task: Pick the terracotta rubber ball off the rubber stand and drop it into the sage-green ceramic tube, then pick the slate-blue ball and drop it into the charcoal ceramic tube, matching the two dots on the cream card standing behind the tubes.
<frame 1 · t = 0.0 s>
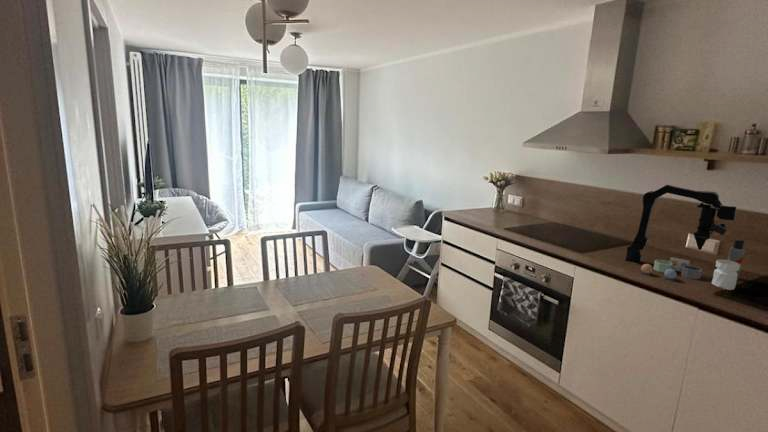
hand: (700, 247, 206), 15 cm above the kitchen counter, fingers open, 9 cm apart
dot card: (677, 271, 213), on the kitchen counter
ball terracotta: (646, 273, 208), point 1 cm above the kitchen counter, touching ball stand
ball slate: (669, 278, 202), point 1 cm above the kitchen counter, touching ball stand
lotion bottle: (731, 277, 207), on the kitchen counter
tube left: (662, 271, 214), on the kitchen counter
tube right: (690, 277, 206), on the kitchen counter
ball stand: (657, 277, 205), on the kitchen counter
vase: (722, 286, 195), on the kitchen counter
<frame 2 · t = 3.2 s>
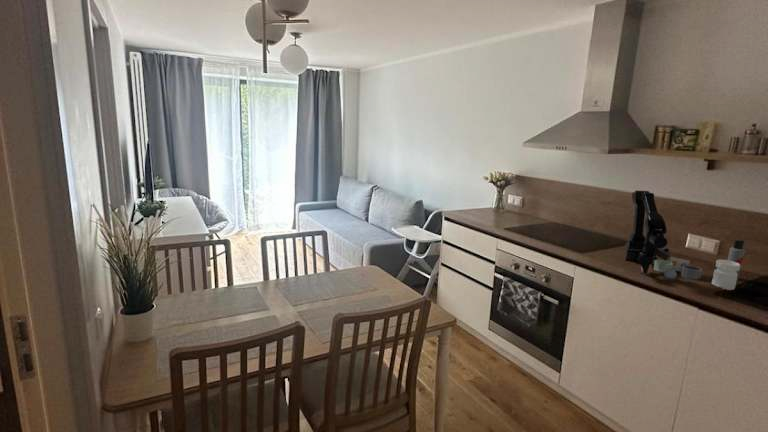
hand: (646, 271, 208), 2 cm above the kitchen counter, fingers closed on ball terracotta, 5 cm apart
ball terracotta: (646, 273, 208), point 1 cm above the kitchen counter, touching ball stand, gripper
everything else where it was.
when the fingers open (6 cm above the kitchen counter, at t = 5.7 s): ball terracotta drops 5 cm, resting on tube left.
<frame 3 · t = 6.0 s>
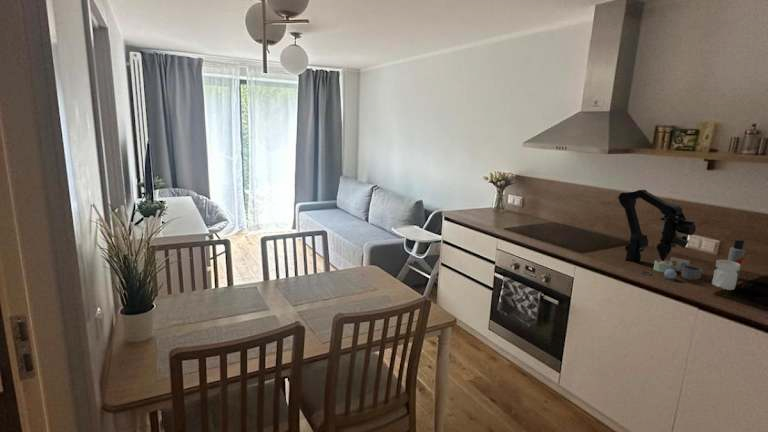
hand: (664, 259, 212), 6 cm above the kitchen counter, fingers open, 8 cm apart
ball terracotta: (662, 270, 214), resting on tube left
everything else where it was.
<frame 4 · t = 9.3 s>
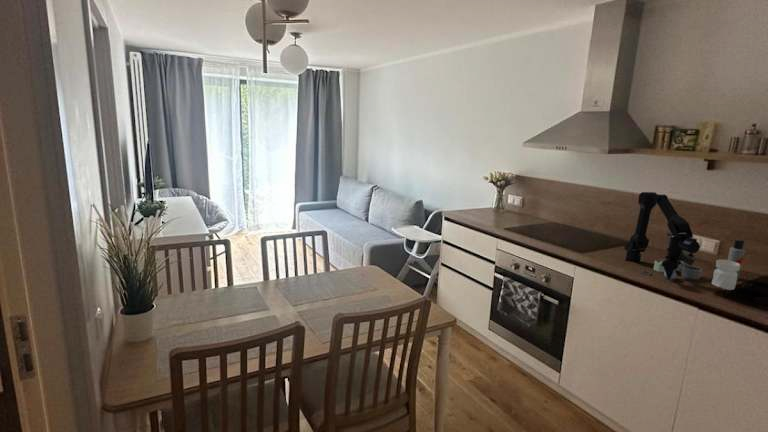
hand: (669, 277, 201), 2 cm above the kitchen counter, fingers closed on ball slate, 5 cm apart
ball slate: (669, 278, 202), point 1 cm above the kitchen counter, touching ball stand, gripper
everything else where it was.
when the fingers open (6 cm above the kitchen counter, at t = 12.1 s): ball slate drops 5 cm, resting on tube right.
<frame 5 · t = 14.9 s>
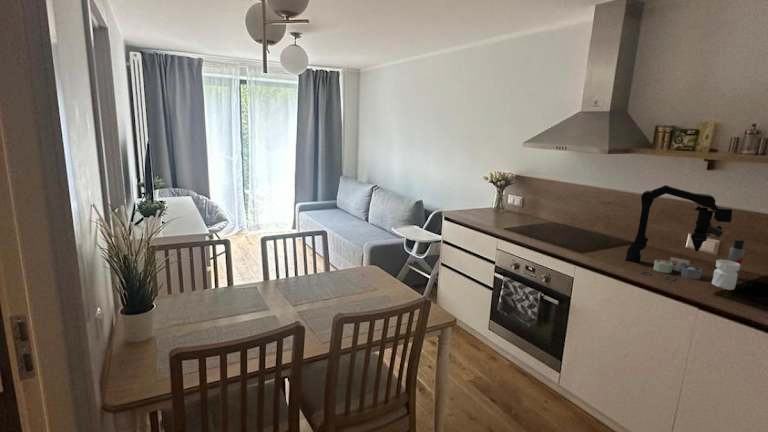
hand: (697, 249, 210), 12 cm above the kitchen counter, fingers open, 9 cm apart
ball slate: (690, 276, 206), resting on tube right
everything else where it was.
at the end: ball terracotta 0.0 cm off-centre on the tube left, point 0.4 cm above the tube left's base; ball slate 0.0 cm off-centre on the tube right, point 0.4 cm above the tube right's base; the gripper is holding nothing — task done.
